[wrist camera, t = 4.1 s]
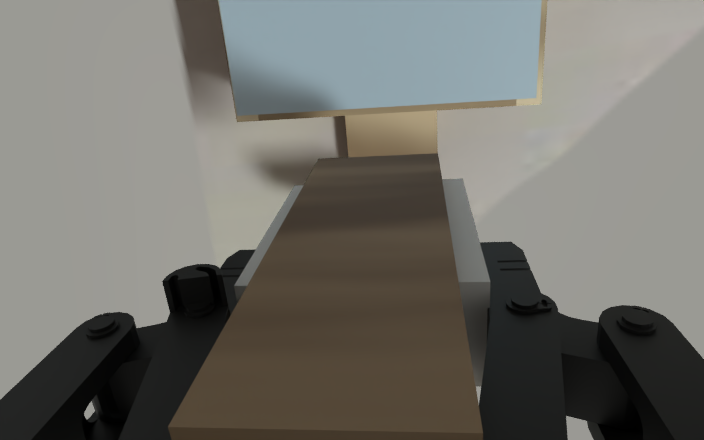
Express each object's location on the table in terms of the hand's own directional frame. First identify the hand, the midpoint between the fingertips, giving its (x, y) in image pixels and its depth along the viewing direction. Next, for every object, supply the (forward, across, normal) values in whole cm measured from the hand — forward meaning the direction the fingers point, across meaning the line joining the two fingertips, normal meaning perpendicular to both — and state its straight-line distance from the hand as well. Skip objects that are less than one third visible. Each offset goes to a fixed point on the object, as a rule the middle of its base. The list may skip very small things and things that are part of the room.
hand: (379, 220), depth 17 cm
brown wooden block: (+1, 0, 0) cm, 1 cm away
